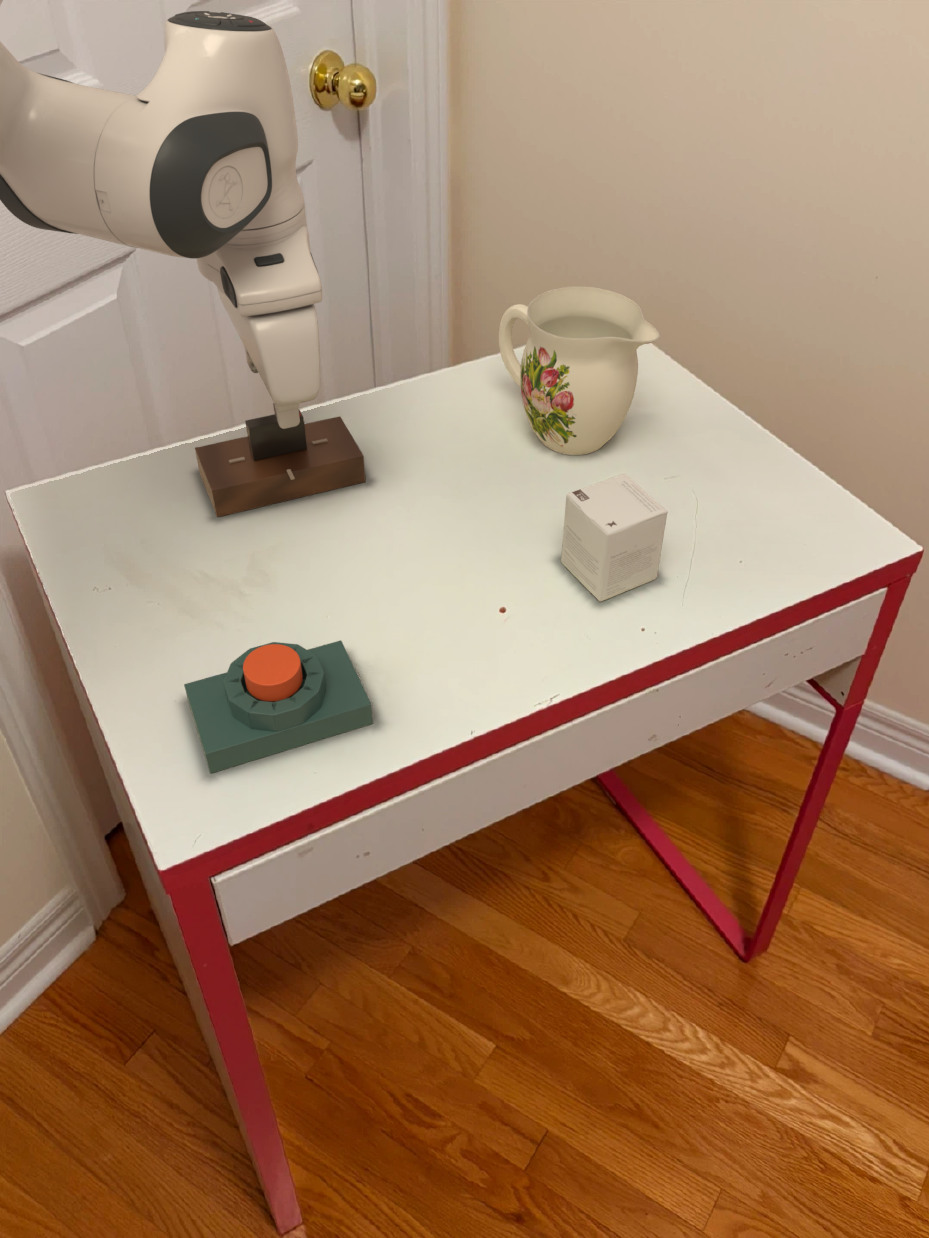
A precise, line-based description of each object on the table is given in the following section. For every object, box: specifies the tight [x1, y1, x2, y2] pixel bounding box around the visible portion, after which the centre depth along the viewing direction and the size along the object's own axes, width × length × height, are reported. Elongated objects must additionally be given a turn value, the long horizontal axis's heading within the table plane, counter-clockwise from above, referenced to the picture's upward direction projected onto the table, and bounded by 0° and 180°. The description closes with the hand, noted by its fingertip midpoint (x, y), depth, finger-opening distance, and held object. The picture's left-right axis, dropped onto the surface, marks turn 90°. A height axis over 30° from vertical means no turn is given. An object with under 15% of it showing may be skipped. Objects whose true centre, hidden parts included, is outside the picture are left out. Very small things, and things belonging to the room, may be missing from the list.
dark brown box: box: [244, 409, 307, 461], centre depth 95 cm, size 5×1×4 cm, turn 113°
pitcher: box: [498, 285, 661, 456], centre depth 99 cm, size 11×18×14 cm, turn 45°
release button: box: [243, 644, 303, 702], centre depth 74 cm, size 4×4×2 cm
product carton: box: [560, 473, 668, 602], centre depth 87 cm, size 6×6×7 cm
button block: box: [183, 640, 374, 774], centre depth 76 cm, size 12×7×4 cm, turn 113°
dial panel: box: [194, 415, 366, 518], centre depth 97 cm, size 14×9×3 cm, turn 113°
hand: (273, 395), depth 92 cm, fingers open, 8 cm apart
